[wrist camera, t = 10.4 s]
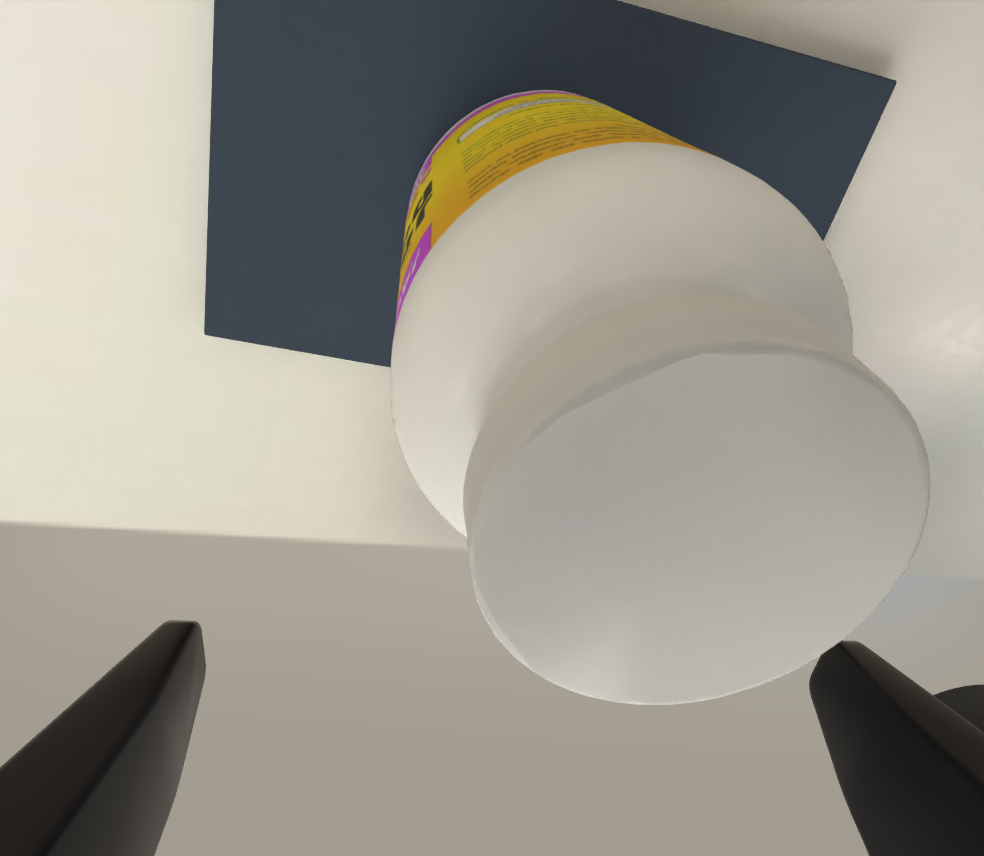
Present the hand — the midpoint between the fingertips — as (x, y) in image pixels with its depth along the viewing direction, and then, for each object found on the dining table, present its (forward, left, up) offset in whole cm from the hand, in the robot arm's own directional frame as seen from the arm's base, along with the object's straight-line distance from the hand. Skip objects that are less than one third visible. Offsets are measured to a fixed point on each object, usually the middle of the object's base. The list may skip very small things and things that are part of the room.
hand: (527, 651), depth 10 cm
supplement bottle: (+3, -1, -11) cm, 12 cm away
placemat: (+4, -1, -12) cm, 12 cm away
